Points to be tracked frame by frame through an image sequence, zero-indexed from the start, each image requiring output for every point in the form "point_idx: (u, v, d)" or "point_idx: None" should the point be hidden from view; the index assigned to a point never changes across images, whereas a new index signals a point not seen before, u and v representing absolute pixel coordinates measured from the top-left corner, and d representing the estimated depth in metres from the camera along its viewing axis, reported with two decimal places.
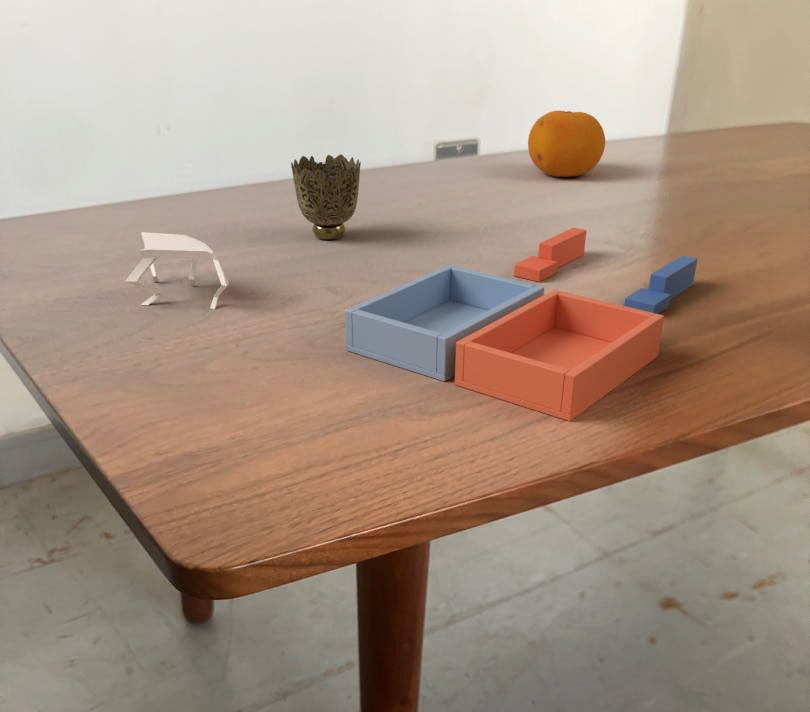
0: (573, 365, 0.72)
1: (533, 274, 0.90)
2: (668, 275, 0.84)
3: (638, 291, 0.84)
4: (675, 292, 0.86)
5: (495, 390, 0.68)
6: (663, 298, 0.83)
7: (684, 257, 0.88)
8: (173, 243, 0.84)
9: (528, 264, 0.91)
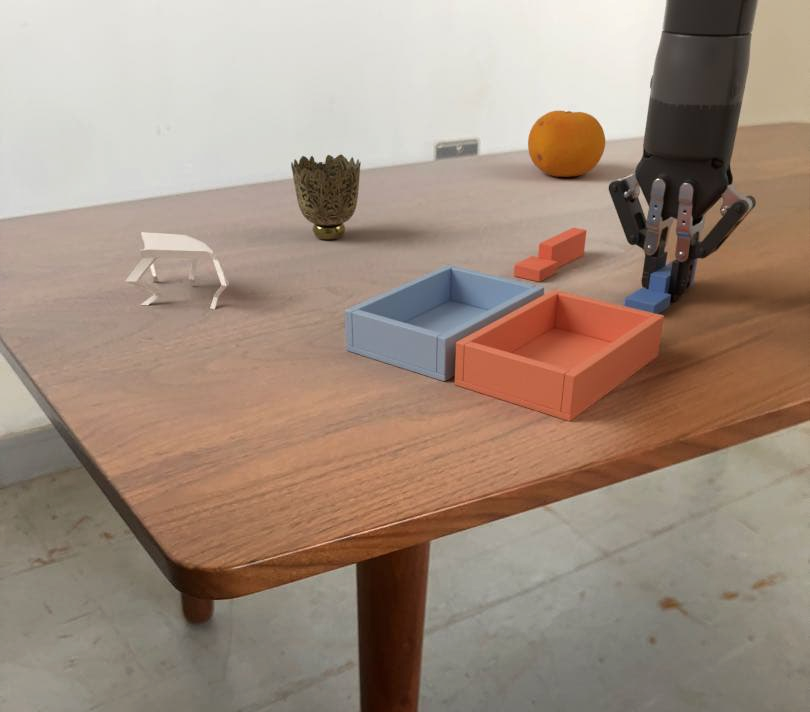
0: (573, 365, 0.72)
1: (533, 274, 0.90)
2: (668, 275, 0.84)
3: (638, 291, 0.84)
4: None
5: (495, 390, 0.68)
6: (663, 298, 0.83)
7: None
8: (173, 243, 0.84)
9: (528, 264, 0.91)
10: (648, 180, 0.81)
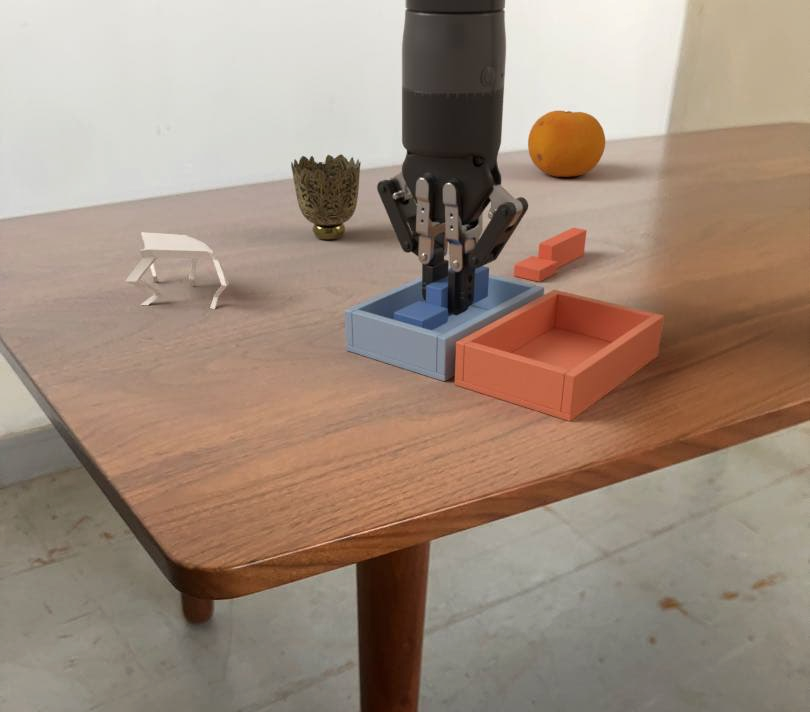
0: (573, 365, 0.72)
1: (533, 274, 0.90)
2: (445, 287, 0.74)
3: (413, 305, 0.75)
4: None
5: (495, 390, 0.68)
6: (436, 313, 0.73)
7: None
8: (173, 243, 0.84)
9: (528, 264, 0.91)
10: (414, 180, 0.72)
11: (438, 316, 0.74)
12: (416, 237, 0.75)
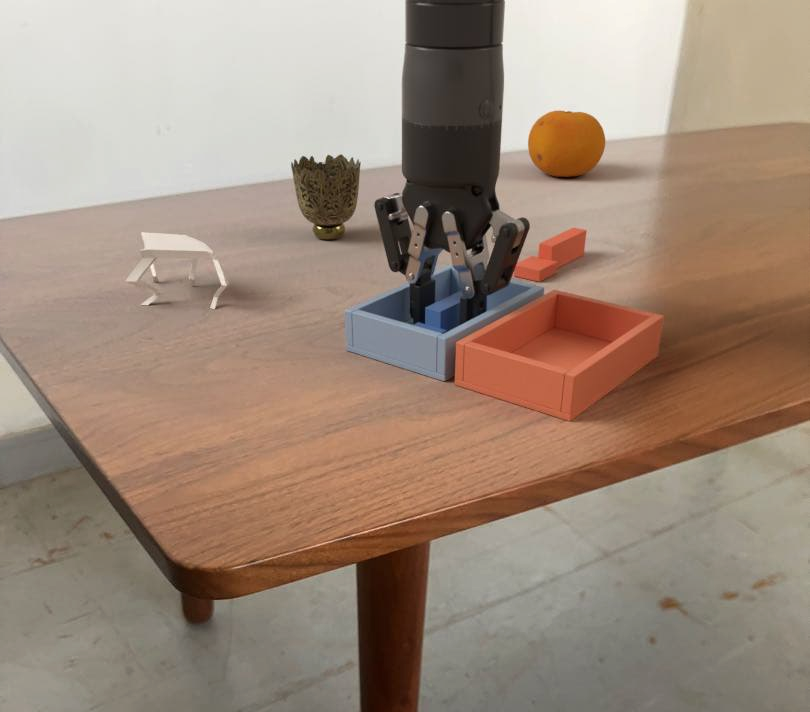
0: (573, 365, 0.72)
1: (533, 274, 0.90)
2: (444, 309, 0.75)
3: None
4: None
5: (495, 390, 0.68)
6: None
7: None
8: (173, 243, 0.84)
9: (528, 264, 0.91)
10: (412, 208, 0.73)
11: None
12: (404, 258, 0.77)
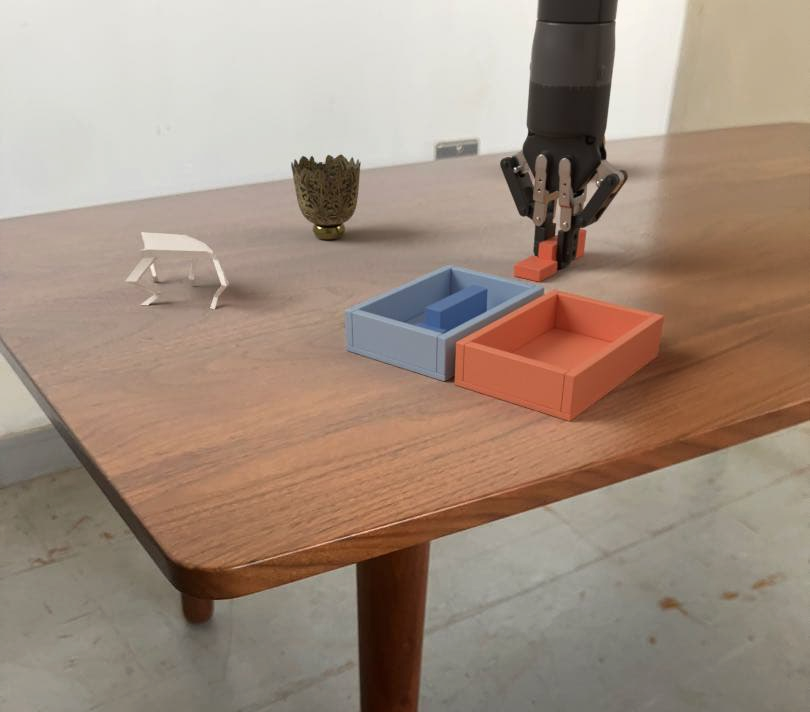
0: (573, 365, 0.72)
1: (533, 274, 0.90)
2: (444, 309, 0.75)
3: None
4: None
5: (495, 390, 0.68)
6: None
7: (473, 287, 0.80)
8: (173, 243, 0.84)
9: (528, 264, 0.91)
10: (533, 156, 0.89)
11: None
12: (531, 204, 0.92)
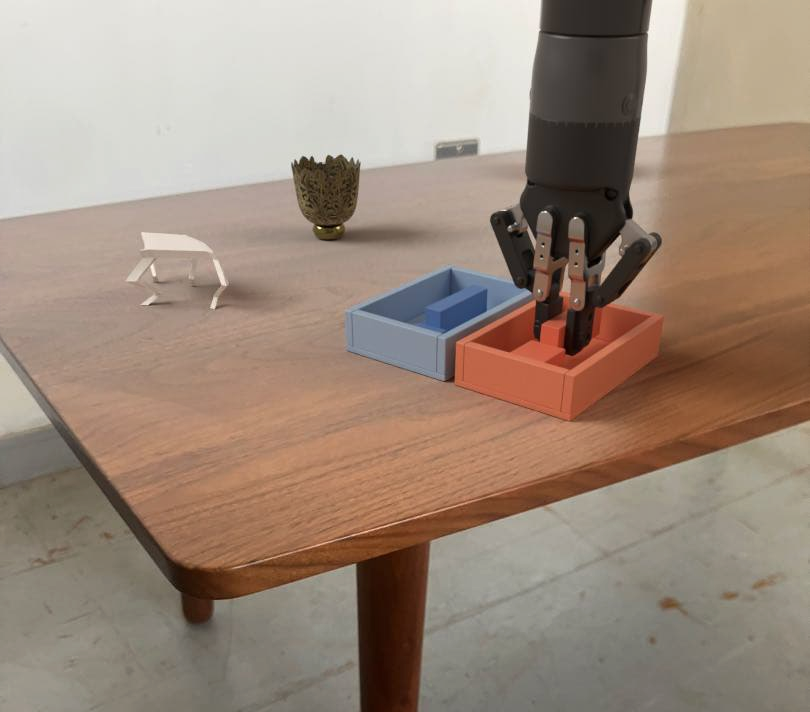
0: (573, 365, 0.72)
1: None
2: (444, 309, 0.75)
3: None
4: None
5: (495, 390, 0.68)
6: None
7: (473, 287, 0.80)
8: (173, 243, 0.84)
9: (527, 354, 0.68)
10: (534, 212, 0.67)
11: None
12: (530, 272, 0.70)
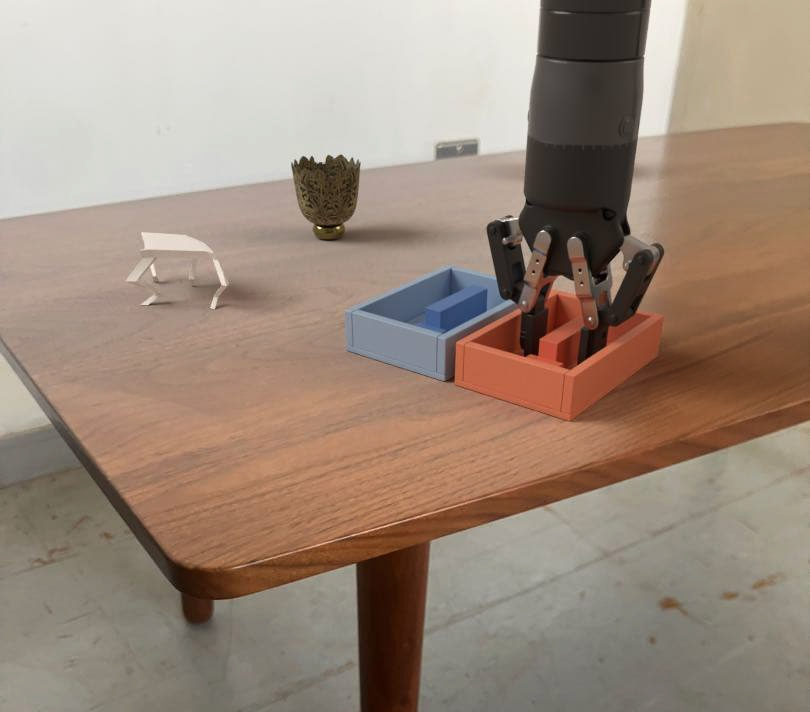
0: (573, 365, 0.72)
1: None
2: (444, 309, 0.75)
3: None
4: None
5: (495, 390, 0.68)
6: None
7: (473, 287, 0.80)
8: (173, 243, 0.84)
9: None
10: (531, 232, 0.68)
11: None
12: (517, 285, 0.71)
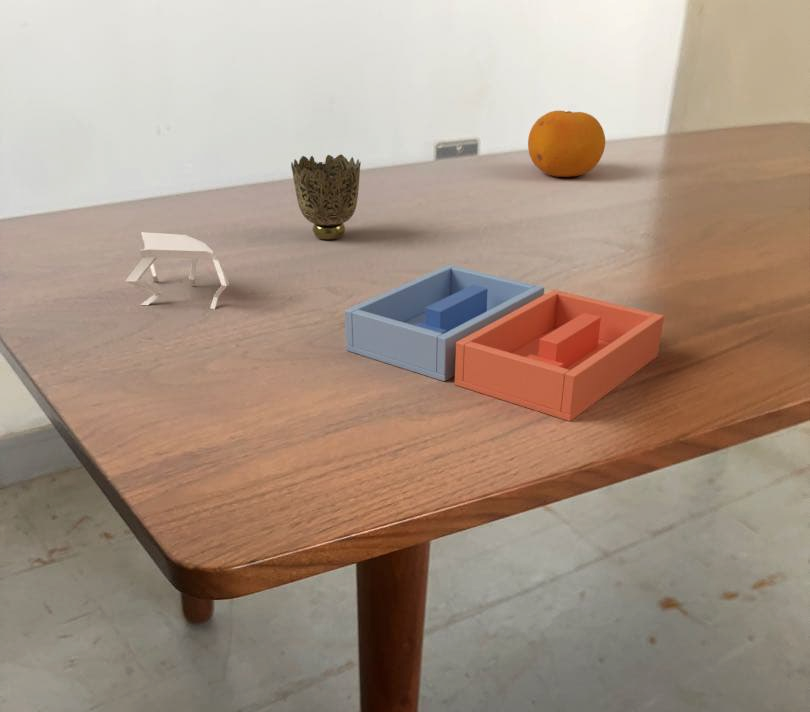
0: (573, 365, 0.72)
1: None
2: (444, 309, 0.75)
3: None
4: None
5: (495, 390, 0.68)
6: None
7: (473, 287, 0.80)
8: (173, 243, 0.84)
9: None
10: None
11: None
12: None
